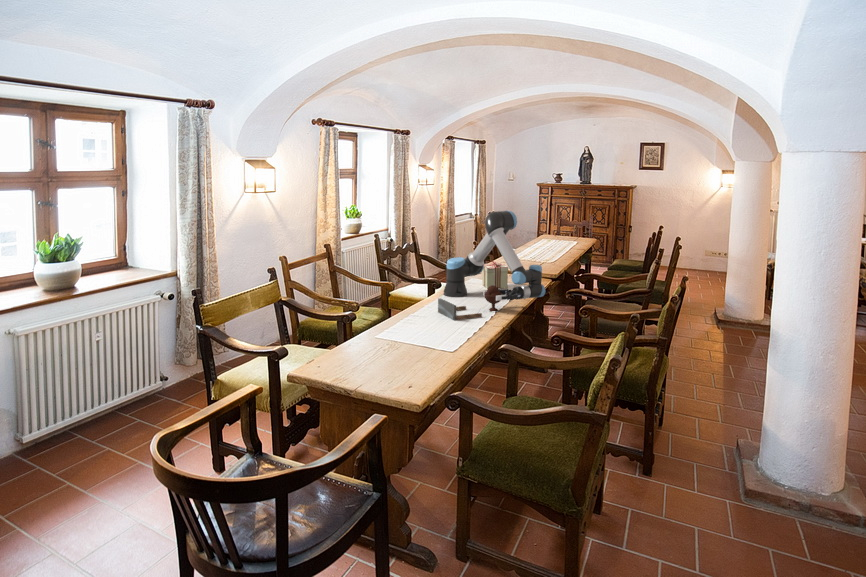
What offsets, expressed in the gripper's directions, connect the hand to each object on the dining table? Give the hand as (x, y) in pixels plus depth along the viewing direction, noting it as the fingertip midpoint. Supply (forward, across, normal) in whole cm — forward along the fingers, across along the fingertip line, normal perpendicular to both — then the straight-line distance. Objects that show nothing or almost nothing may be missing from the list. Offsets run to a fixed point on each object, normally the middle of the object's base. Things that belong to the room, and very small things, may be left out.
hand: (489, 295), depth 341 cm
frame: (+19, 0, -9) cm, 21 cm away
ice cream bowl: (-3, 0, -9) cm, 9 cm away
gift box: (-37, +57, -9) cm, 69 cm away
